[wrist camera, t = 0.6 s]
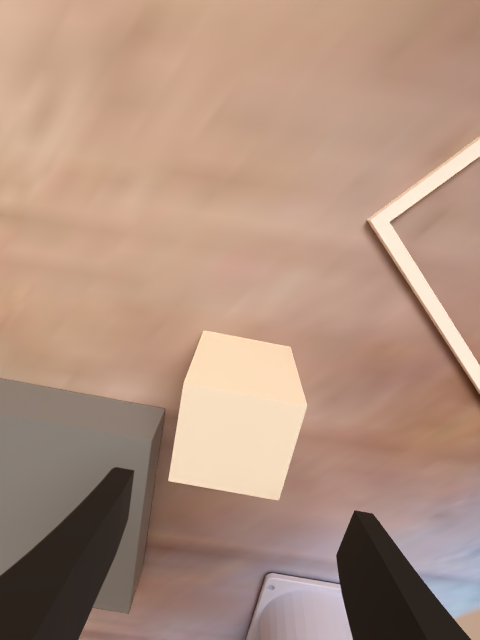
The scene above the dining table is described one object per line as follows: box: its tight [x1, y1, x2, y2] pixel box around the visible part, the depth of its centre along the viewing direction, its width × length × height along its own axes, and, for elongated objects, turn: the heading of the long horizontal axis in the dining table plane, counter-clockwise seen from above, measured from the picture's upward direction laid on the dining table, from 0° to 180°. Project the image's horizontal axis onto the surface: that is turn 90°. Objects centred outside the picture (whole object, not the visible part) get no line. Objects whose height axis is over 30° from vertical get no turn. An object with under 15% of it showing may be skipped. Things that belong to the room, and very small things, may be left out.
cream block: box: [168, 330, 307, 500], centre depth 17 cm, size 5×5×6 cm
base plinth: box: [0, 379, 165, 614], centre depth 21 cm, size 14×14×3 cm
